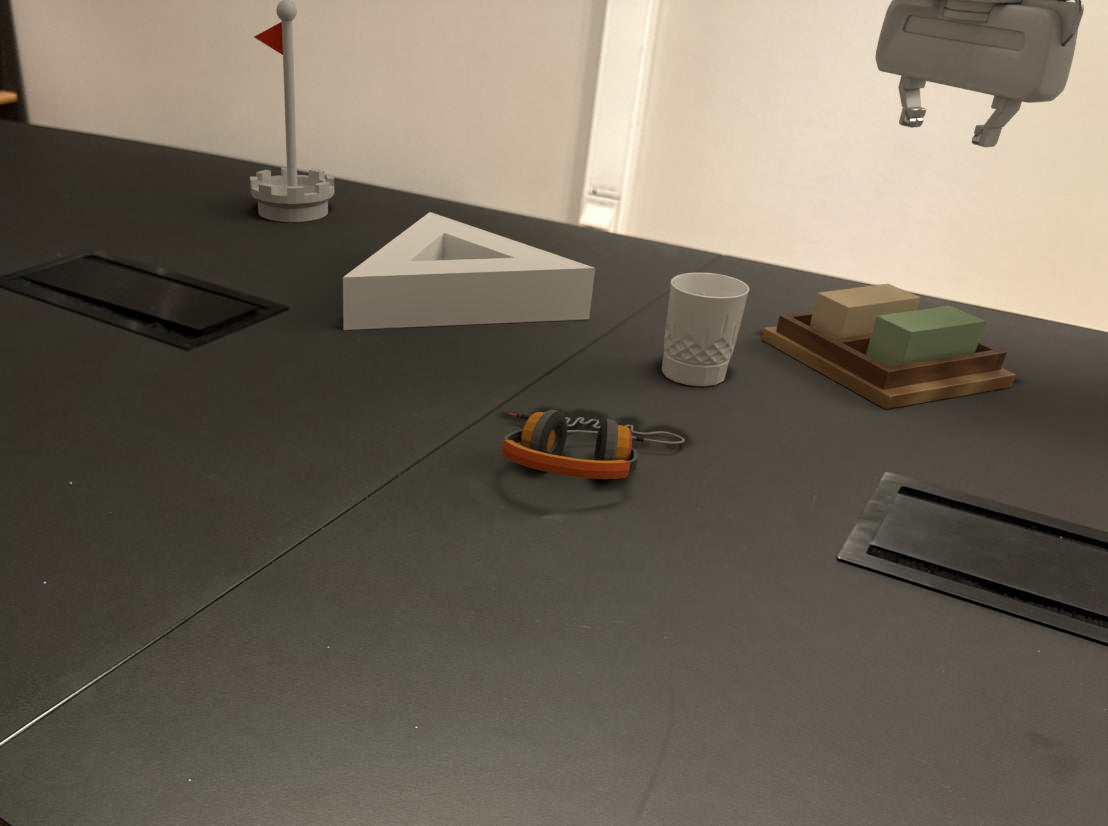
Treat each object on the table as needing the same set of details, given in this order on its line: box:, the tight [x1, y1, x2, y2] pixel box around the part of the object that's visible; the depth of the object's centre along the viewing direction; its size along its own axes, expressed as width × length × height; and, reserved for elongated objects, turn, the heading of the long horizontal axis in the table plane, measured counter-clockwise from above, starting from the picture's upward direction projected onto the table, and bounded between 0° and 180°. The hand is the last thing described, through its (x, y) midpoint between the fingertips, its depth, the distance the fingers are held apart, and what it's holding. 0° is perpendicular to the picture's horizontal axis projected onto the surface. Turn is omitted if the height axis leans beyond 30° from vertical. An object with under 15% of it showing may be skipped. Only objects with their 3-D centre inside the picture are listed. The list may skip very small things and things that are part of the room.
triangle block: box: [342, 211, 596, 331], centre depth 129 cm, size 30×26×6 cm
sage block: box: [866, 305, 986, 367], centre depth 112 cm, size 10×5×5 cm, turn 110°
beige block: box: [810, 283, 921, 339], centre depth 118 cm, size 10×5×5 cm, turn 111°
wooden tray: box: [761, 310, 1017, 410], centre depth 116 cm, size 17×20×4 cm
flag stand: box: [249, 0, 335, 223], centre depth 157 cm, size 13×13×30 cm
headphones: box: [501, 409, 685, 481], centre depth 95 cm, size 17×5×20 cm
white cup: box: [661, 272, 750, 387], centre depth 111 cm, size 8×8×10 cm
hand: (945, 135), depth 104 cm, fingers open, 8 cm apart
